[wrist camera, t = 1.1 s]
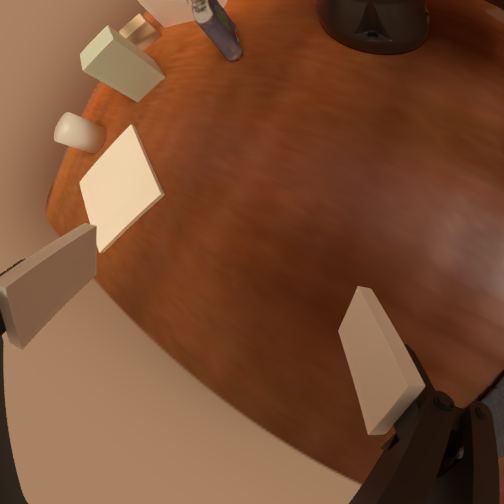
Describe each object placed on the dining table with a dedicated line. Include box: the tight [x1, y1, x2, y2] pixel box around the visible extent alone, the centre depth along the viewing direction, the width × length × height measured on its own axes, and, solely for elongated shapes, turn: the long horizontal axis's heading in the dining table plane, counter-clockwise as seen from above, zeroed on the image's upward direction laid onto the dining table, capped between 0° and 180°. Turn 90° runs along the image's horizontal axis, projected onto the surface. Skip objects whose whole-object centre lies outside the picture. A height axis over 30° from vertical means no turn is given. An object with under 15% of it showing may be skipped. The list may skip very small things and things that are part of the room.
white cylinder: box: [54, 112, 107, 154], centre depth 38 cm, size 5×5×8 cm
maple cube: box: [119, 13, 162, 51], centre depth 37 cm, size 5×5×5 cm
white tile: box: [79, 124, 165, 253], centre depth 39 cm, size 14×14×1 cm
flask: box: [186, 0, 242, 62], centre depth 28 cm, size 9×3×11 cm, turn 11°
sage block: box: [80, 25, 165, 103], centre depth 33 cm, size 6×6×12 cm
